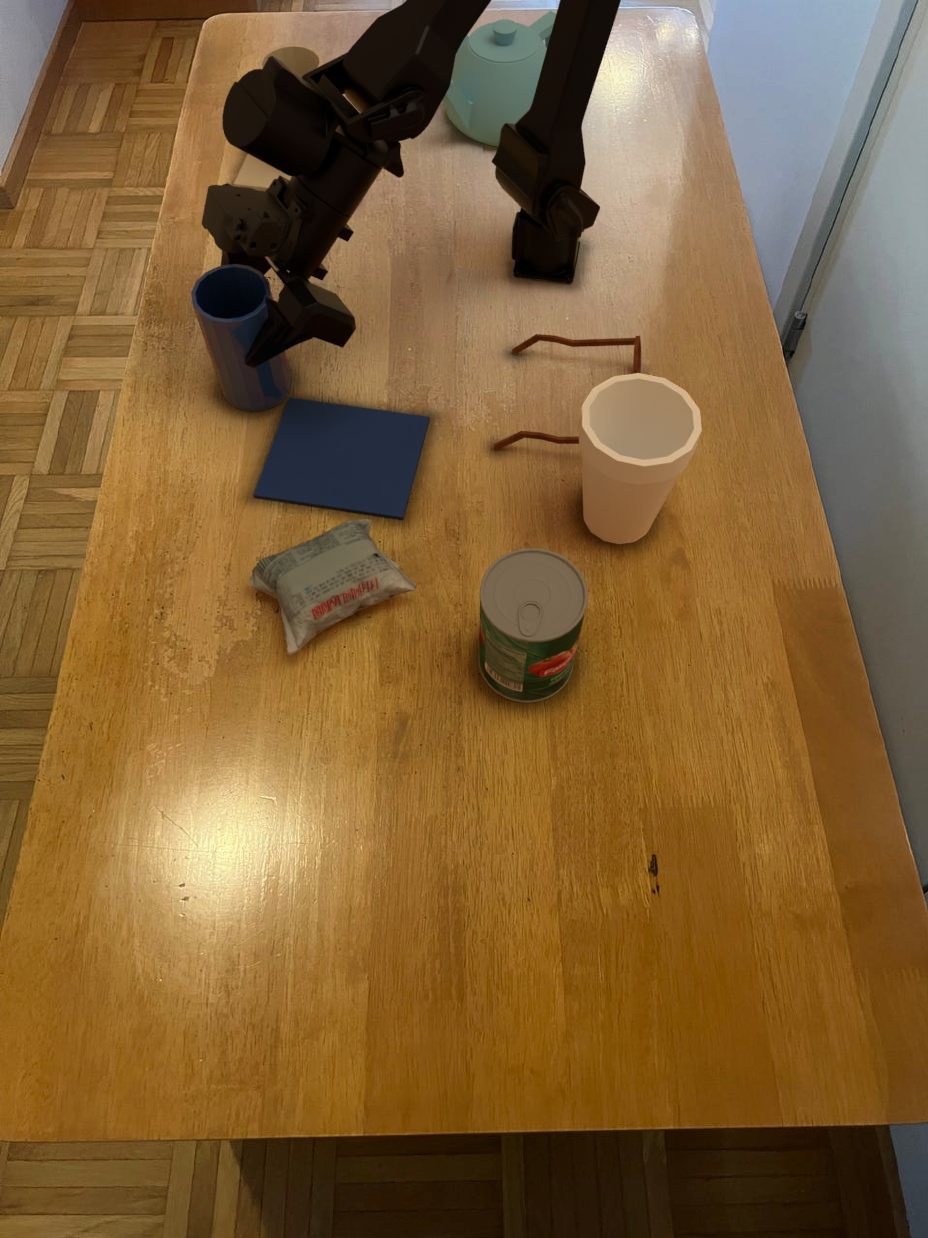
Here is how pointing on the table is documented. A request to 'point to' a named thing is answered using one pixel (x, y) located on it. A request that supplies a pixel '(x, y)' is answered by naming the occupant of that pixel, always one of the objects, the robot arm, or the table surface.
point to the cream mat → (257, 173)
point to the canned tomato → (530, 623)
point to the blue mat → (343, 458)
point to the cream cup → (295, 58)
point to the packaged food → (328, 580)
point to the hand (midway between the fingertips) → (232, 340)
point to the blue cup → (239, 335)
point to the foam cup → (633, 452)
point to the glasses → (572, 343)
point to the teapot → (496, 76)
